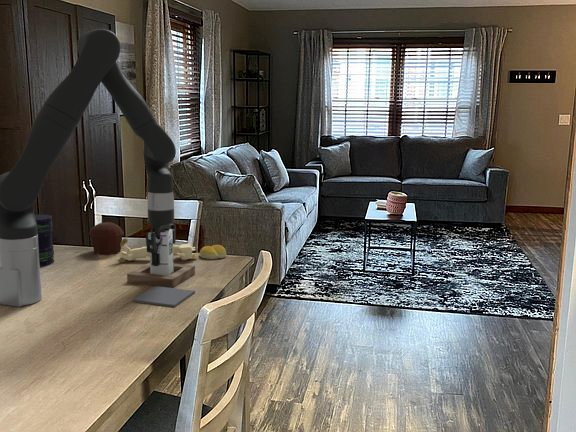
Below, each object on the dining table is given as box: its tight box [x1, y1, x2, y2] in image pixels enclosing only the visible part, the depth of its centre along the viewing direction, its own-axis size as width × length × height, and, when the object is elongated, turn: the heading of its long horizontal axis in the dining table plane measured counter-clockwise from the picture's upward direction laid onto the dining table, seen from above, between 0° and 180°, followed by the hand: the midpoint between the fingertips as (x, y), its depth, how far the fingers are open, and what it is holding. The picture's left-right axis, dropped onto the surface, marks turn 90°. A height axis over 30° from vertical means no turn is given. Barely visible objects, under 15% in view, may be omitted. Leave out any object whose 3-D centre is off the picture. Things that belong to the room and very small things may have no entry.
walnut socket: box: [126, 262, 196, 288], centre depth 171 cm, size 14×14×2 cm
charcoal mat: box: [132, 286, 196, 308], centre depth 155 cm, size 12×12×1 cm
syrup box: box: [149, 229, 175, 276], centre depth 170 cm, size 6×6×14 cm
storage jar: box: [34, 213, 55, 268], centre depth 182 cm, size 10×10×15 cm
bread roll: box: [198, 244, 228, 260], centre depth 196 cm, size 8×9×4 cm
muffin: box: [88, 221, 125, 256], centre depth 198 cm, size 12×11×10 cm
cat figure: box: [119, 237, 200, 263], centre depth 190 cm, size 10×9×25 cm
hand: (161, 262), depth 170 cm, fingers closed on syrup box, 6 cm apart
